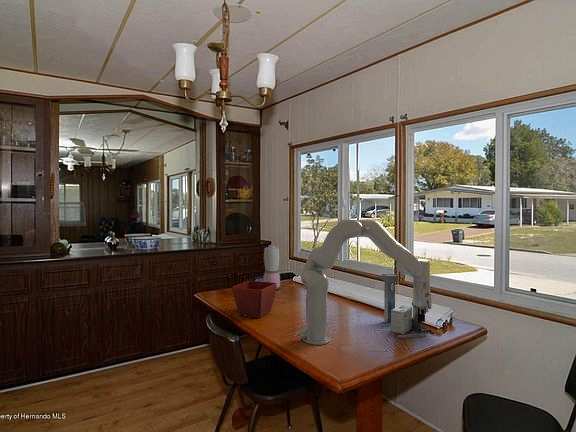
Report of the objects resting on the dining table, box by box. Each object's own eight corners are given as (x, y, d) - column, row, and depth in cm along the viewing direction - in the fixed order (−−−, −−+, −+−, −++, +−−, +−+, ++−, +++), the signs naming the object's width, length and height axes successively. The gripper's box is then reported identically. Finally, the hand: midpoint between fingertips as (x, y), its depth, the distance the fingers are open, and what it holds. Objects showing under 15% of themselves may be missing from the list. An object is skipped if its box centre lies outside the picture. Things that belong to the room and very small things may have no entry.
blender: (275, 291, 252) (275, 247, 251) (260, 289, 257) (260, 246, 256) (284, 287, 266) (284, 245, 265) (270, 285, 271) (270, 244, 270)
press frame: (398, 338, 161) (398, 284, 160) (375, 321, 185) (375, 274, 184) (425, 336, 163) (425, 283, 163) (399, 319, 187) (399, 273, 187)
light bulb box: (399, 325, 178) (399, 304, 178) (412, 328, 174) (412, 307, 174) (390, 331, 170) (390, 309, 170) (404, 334, 166) (404, 311, 166)
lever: (414, 328, 174) (414, 301, 174) (409, 324, 179) (409, 298, 179) (422, 327, 175) (422, 301, 174) (416, 324, 180) (416, 298, 179)
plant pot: (231, 316, 194) (230, 286, 193) (249, 307, 211) (249, 280, 210) (261, 321, 185) (260, 290, 185) (277, 311, 203) (277, 282, 202)
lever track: (423, 335, 165) (423, 332, 165) (402, 321, 184) (402, 319, 184) (434, 334, 166) (434, 331, 166) (412, 321, 185) (412, 318, 185)
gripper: (437, 287, 165) (437, 326, 165) (419, 281, 180) (419, 316, 180) (422, 288, 163) (422, 327, 164) (406, 281, 178) (406, 317, 179)
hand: (421, 321), depth 172 cm, fingers closed
